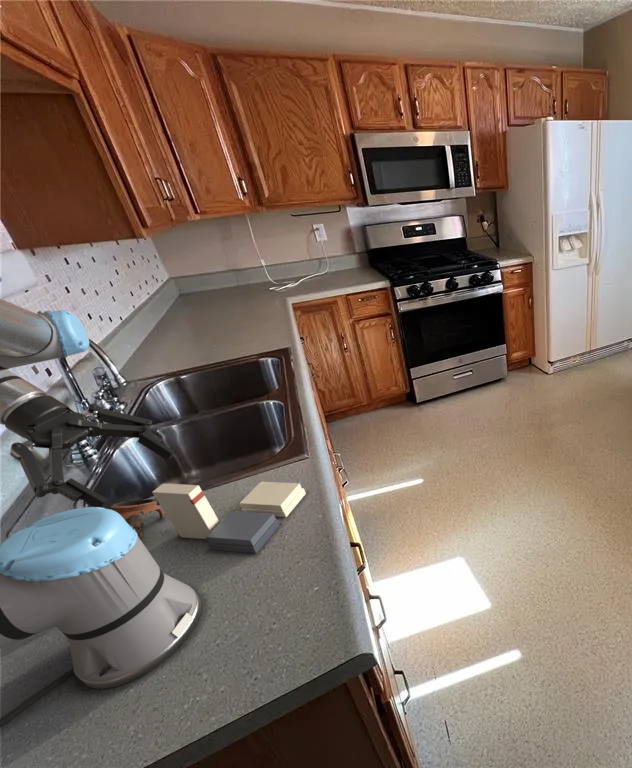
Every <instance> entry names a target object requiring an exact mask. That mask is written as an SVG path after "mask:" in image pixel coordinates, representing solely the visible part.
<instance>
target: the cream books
mask: <svg viewBox="0 0 632 768" xmlns="http://www.w3.org/2000/svg"><path fill="white" fill-rule="evenodd" d="M306 494H307V492H306V490H305V488H304V487H302V485H301V483H298V482H297V483H296V482H277V481H276V482H275V481H260V482H259V483H258V484H257V485H256V486H255V487H254V488H253V489H252V490H251V491H250V492H249V493H247V495H246V496H245V497H244V498H243V499H242V500H241V501H240V502H239V505H240V507H241V509H240V510H241V512H252V513H268V514H274V516H275V518H287V517H288V516H289V514H290V513H291V512H292V511H293V510H294V509H295V508H296V506H297V505H298V504H299V503H300V502H301V500H302V499H303V498H304V497H305V495H306Z"/></svg>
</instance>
